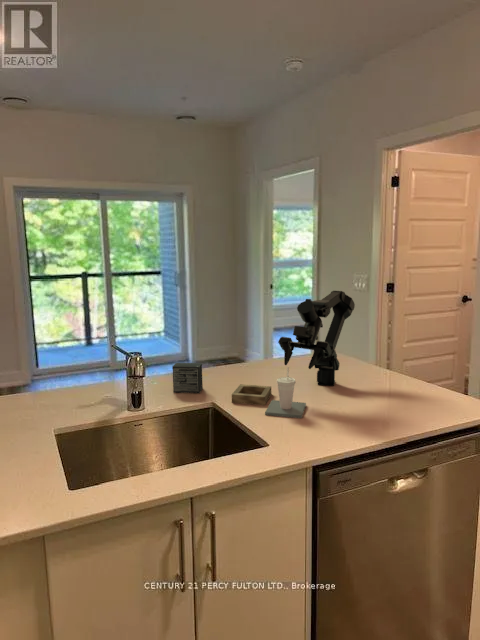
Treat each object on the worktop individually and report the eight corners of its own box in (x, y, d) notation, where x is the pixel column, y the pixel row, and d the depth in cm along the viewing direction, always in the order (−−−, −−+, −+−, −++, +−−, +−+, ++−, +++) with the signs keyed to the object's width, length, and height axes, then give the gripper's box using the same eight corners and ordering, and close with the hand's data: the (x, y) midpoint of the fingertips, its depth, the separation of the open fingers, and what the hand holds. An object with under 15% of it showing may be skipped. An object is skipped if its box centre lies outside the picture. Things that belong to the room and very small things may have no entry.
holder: (271, 394, 173) (271, 386, 172) (264, 405, 161) (264, 397, 161) (240, 391, 176) (240, 384, 175) (231, 402, 164) (231, 394, 164)
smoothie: (294, 411, 153) (295, 370, 150) (275, 410, 154) (275, 369, 151) (295, 404, 159) (296, 365, 156) (277, 403, 160) (277, 364, 157)
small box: (203, 388, 181) (202, 362, 179) (200, 393, 174) (199, 366, 172) (176, 387, 182) (175, 361, 180) (172, 393, 175) (171, 366, 173)
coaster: (305, 405, 161) (305, 402, 160) (301, 418, 149) (301, 415, 149) (272, 402, 164) (272, 400, 163) (265, 415, 152) (265, 412, 152)
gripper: (280, 314, 167) (265, 350, 160) (329, 319, 157) (315, 357, 150) (290, 332, 175) (276, 367, 168) (337, 337, 165) (324, 375, 158)
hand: (297, 366), depth 161 cm, fingers open, 9 cm apart
